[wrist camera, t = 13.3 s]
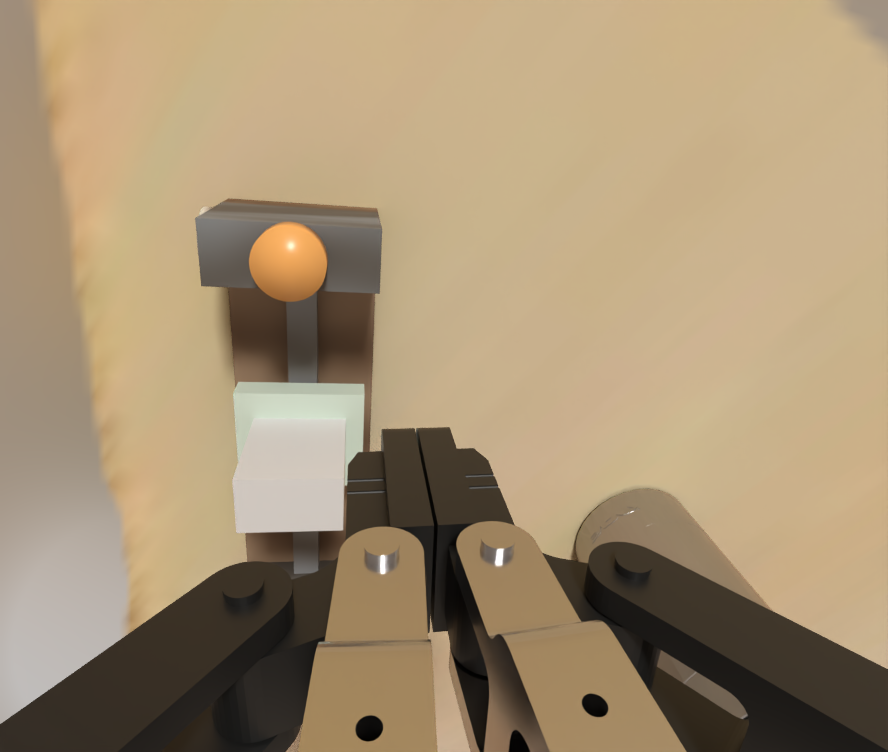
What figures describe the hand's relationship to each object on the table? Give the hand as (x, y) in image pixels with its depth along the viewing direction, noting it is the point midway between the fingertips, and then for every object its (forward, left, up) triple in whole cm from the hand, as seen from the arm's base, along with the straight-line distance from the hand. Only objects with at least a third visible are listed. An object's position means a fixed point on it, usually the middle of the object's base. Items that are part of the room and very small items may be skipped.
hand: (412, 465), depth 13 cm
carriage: (-4, +10, -20) cm, 22 cm away
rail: (-5, +11, -23) cm, 25 cm away
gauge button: (+4, +2, -16) cm, 16 cm away
